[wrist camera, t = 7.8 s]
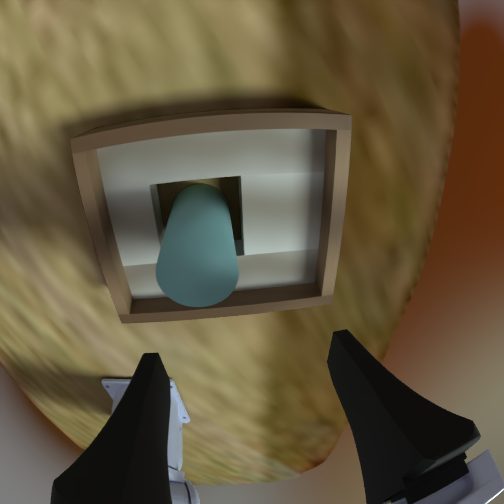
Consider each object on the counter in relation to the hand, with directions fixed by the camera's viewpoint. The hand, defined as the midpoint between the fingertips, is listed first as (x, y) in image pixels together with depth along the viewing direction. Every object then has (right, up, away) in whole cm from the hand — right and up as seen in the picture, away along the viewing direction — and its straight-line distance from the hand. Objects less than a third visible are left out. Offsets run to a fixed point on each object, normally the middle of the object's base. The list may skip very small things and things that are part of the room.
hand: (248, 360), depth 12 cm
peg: (-3, +7, +7) cm, 10 cm away
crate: (-2, +7, +7) cm, 10 cm away
